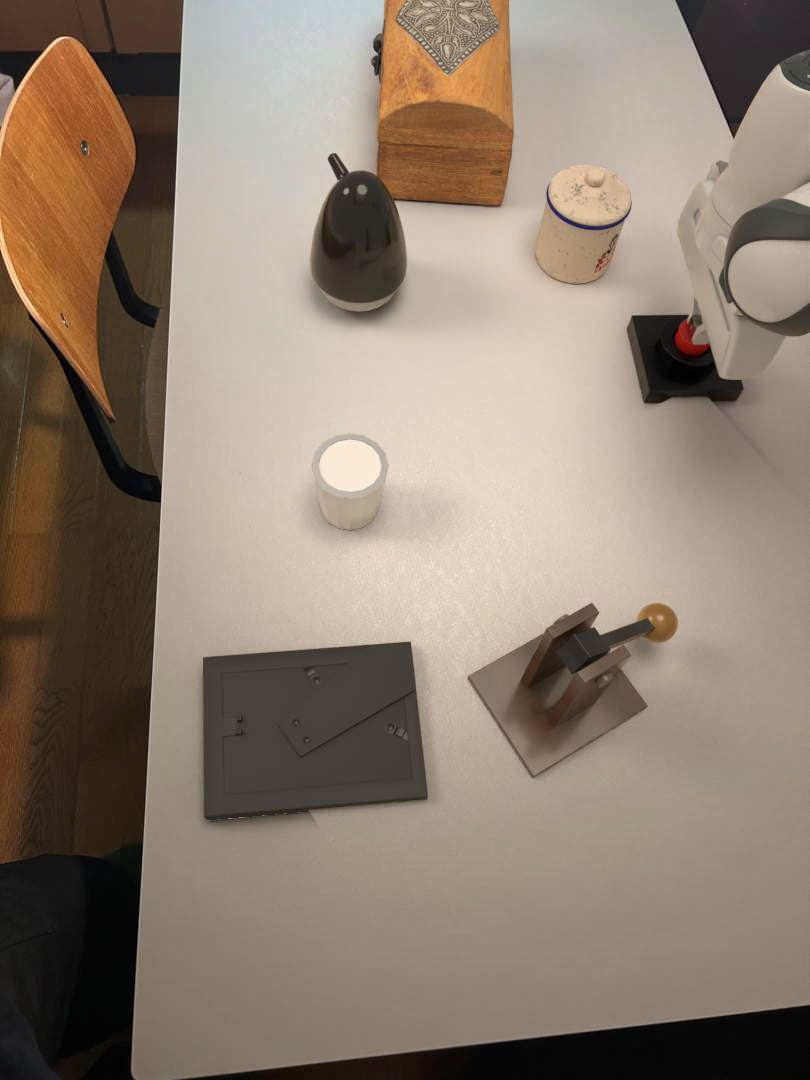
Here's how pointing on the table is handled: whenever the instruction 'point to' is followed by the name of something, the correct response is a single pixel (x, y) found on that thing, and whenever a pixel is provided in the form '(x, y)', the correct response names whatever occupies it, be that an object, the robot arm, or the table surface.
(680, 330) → the button
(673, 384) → the button box
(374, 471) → the white cylinder
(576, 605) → the table surface
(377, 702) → the picture frame
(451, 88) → the wooden box
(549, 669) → the bracket
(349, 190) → the pump dispenser
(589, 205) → the teacup with lid
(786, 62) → the robot arm
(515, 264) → the table surface
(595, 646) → the rod
